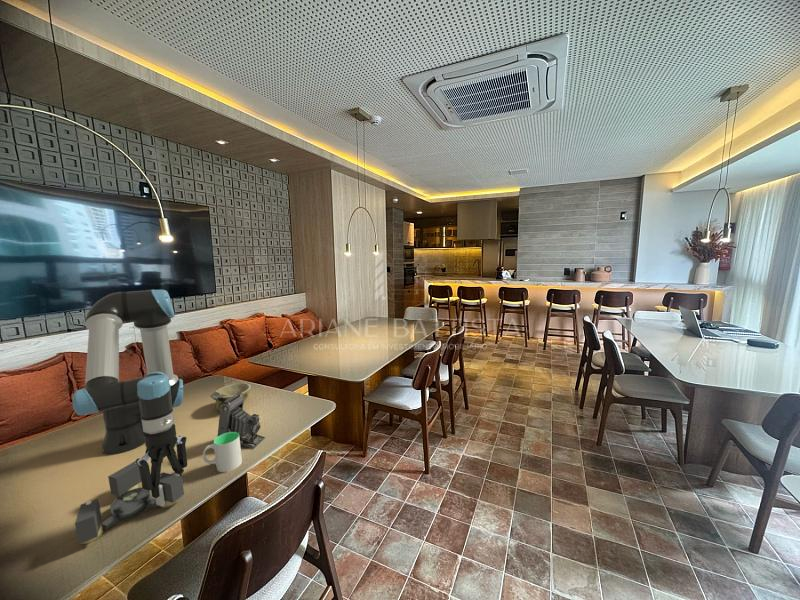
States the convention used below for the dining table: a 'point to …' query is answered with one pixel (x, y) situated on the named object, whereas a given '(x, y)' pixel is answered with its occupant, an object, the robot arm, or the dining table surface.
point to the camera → (239, 421)
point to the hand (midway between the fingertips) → (169, 498)
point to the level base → (129, 506)
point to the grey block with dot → (125, 479)
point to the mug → (226, 452)
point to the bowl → (230, 392)
